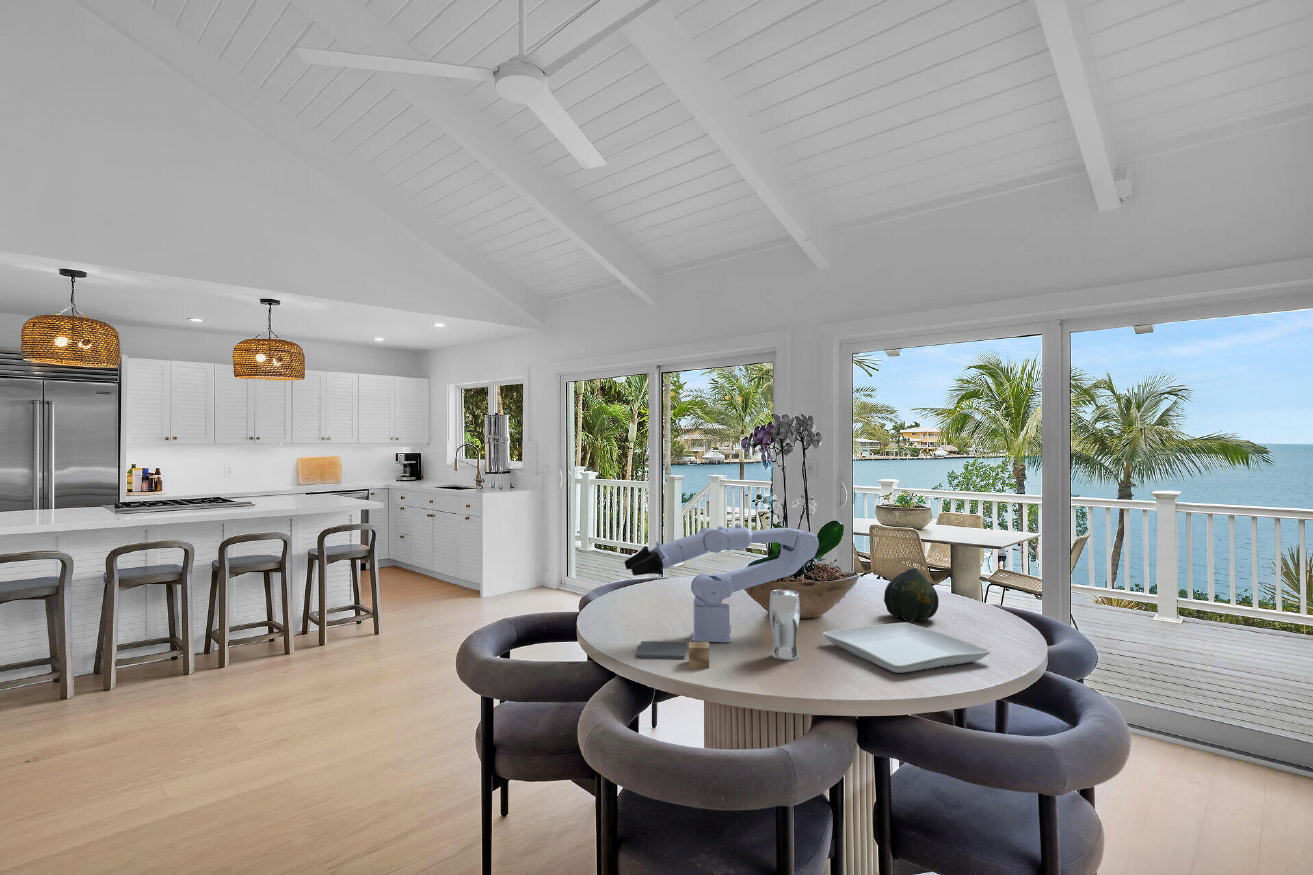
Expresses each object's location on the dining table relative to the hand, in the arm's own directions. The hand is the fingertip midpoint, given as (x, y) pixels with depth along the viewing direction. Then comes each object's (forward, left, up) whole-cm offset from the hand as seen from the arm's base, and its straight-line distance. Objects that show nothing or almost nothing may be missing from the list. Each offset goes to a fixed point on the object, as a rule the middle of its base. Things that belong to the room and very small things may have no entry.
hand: (628, 568), depth 166 cm
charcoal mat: (-9, +5, -19) cm, 21 cm away
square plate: (-66, +3, -19) cm, 69 cm away
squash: (-78, -31, -19) cm, 86 cm away
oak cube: (-18, +14, -19) cm, 30 cm away
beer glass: (-38, +7, -19) cm, 43 cm away
